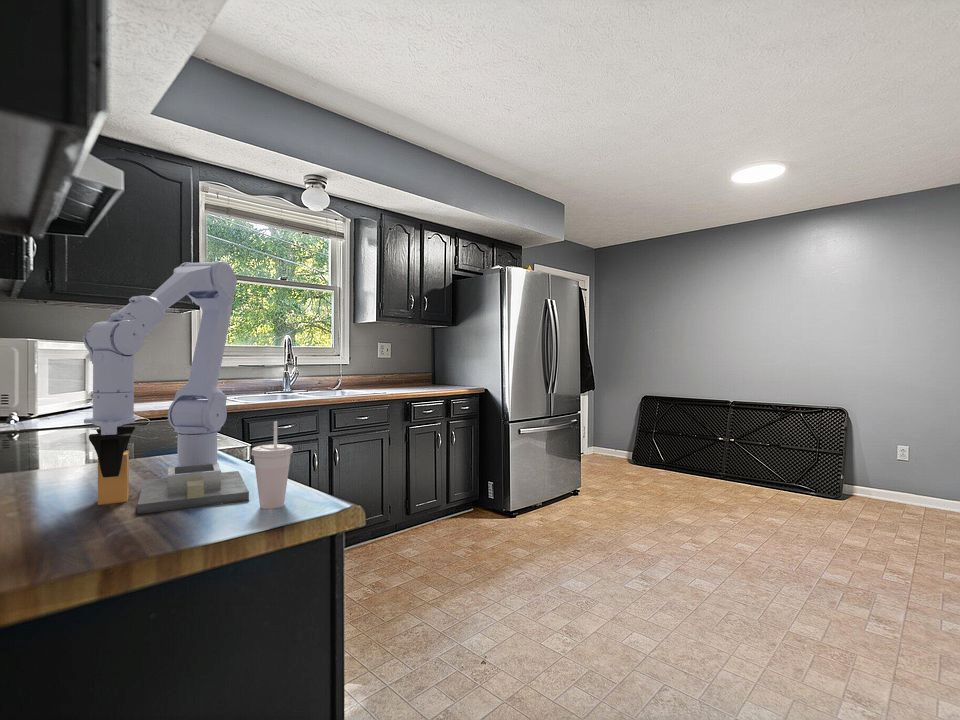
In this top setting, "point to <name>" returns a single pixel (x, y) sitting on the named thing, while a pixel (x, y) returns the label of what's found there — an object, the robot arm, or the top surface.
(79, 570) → the top surface
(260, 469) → the smoothie
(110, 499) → the wedge pin
